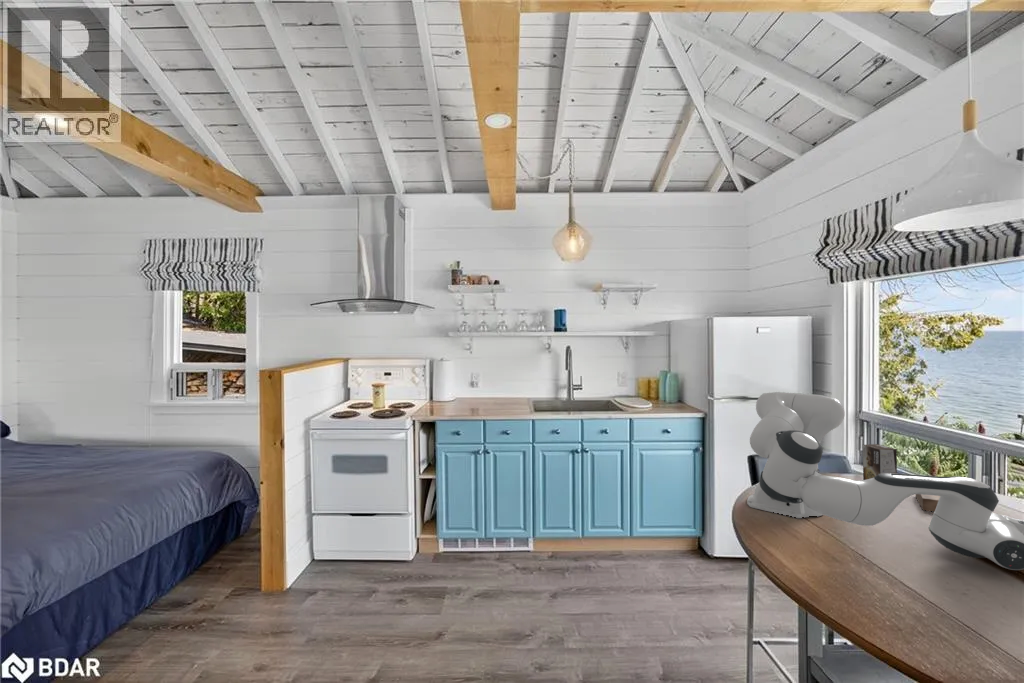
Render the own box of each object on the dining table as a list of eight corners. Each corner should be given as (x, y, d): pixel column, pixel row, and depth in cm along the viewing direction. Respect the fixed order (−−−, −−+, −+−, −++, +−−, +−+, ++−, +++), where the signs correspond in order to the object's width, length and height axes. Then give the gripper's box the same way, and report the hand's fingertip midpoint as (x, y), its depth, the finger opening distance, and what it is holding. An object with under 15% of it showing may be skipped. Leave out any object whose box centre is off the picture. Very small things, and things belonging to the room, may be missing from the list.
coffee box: (898, 493, 171) (897, 449, 171) (880, 493, 171) (880, 449, 171) (879, 485, 180) (878, 443, 180) (862, 485, 180) (861, 443, 180)
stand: (922, 510, 155) (922, 498, 154) (915, 496, 168) (915, 485, 168) (981, 519, 147) (981, 506, 147) (969, 503, 160) (969, 492, 160)
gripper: (940, 534, 127) (932, 517, 138) (1052, 553, 115) (1032, 533, 127) (940, 511, 127) (932, 496, 138) (1052, 528, 115) (1032, 510, 127)
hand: (980, 514), depth 132 cm, fingers open, 8 cm apart
